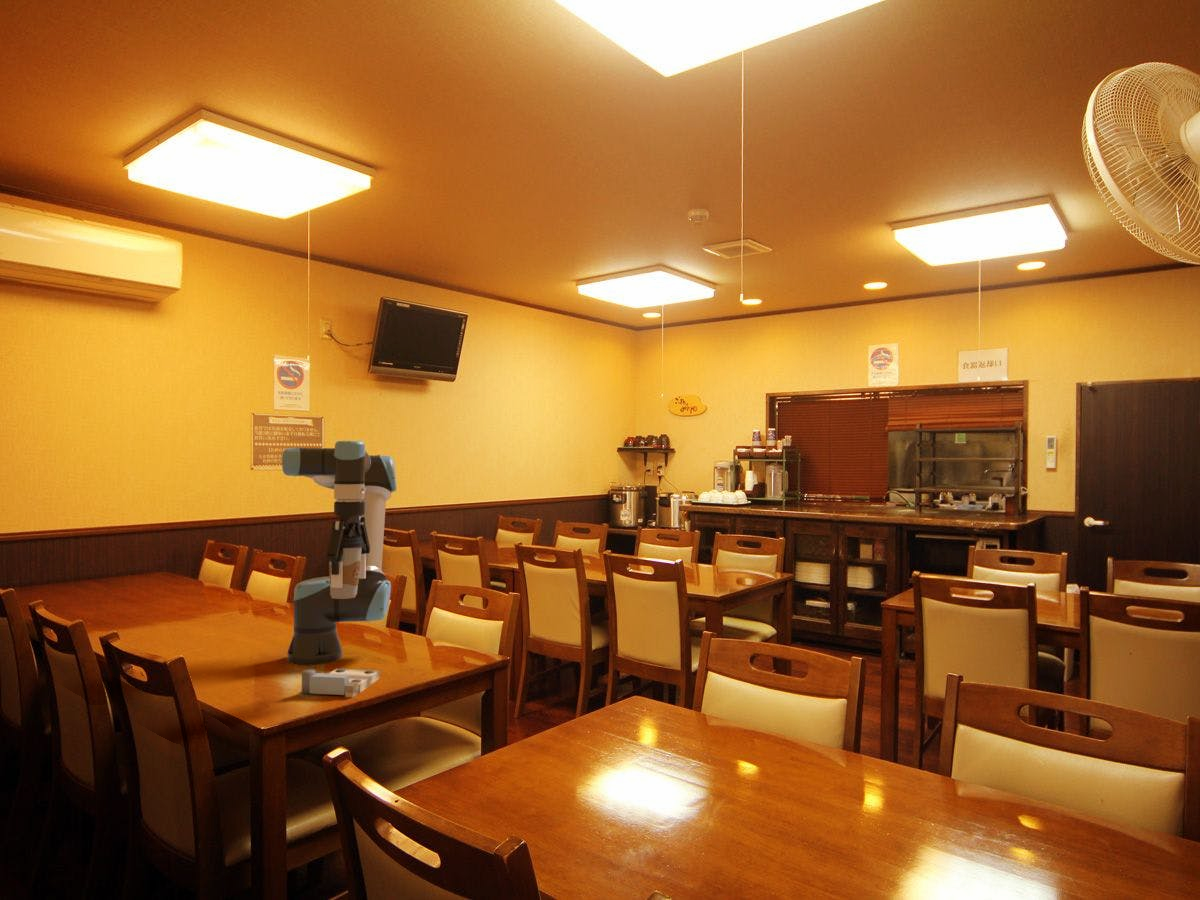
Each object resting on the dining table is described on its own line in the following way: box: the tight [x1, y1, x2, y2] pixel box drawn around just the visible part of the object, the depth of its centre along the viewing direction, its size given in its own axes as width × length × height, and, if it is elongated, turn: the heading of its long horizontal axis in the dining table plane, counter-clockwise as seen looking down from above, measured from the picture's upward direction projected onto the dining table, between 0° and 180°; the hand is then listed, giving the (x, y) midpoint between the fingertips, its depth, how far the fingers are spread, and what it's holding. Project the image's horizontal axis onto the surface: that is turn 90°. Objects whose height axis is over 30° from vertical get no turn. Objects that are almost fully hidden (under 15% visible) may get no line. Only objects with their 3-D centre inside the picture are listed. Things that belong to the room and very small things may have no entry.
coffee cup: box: [327, 537, 362, 599], centre depth 192 cm, size 8×8×15 cm
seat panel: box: [298, 668, 381, 698], centre depth 192 cm, size 16×15×3 cm
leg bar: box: [301, 669, 349, 696], centre depth 187 cm, size 12×3×5 cm, turn 83°
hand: (348, 582), depth 194 cm, fingers open, 13 cm apart
